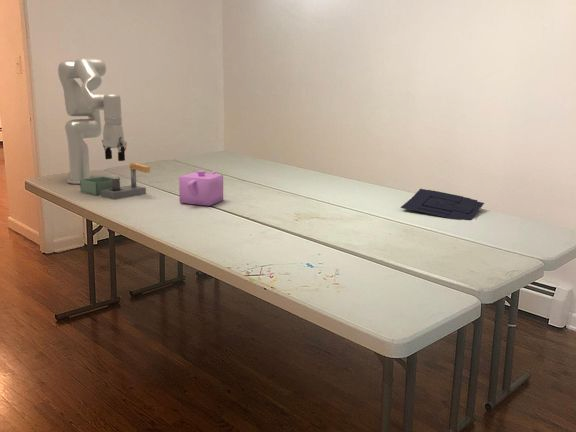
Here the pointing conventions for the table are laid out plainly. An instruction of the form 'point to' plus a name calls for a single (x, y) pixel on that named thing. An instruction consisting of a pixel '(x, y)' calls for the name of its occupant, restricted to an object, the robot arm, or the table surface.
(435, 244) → the table surface
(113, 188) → the plug
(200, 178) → the teapot
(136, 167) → the keeper arm
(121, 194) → the grey post stand
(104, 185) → the bin
